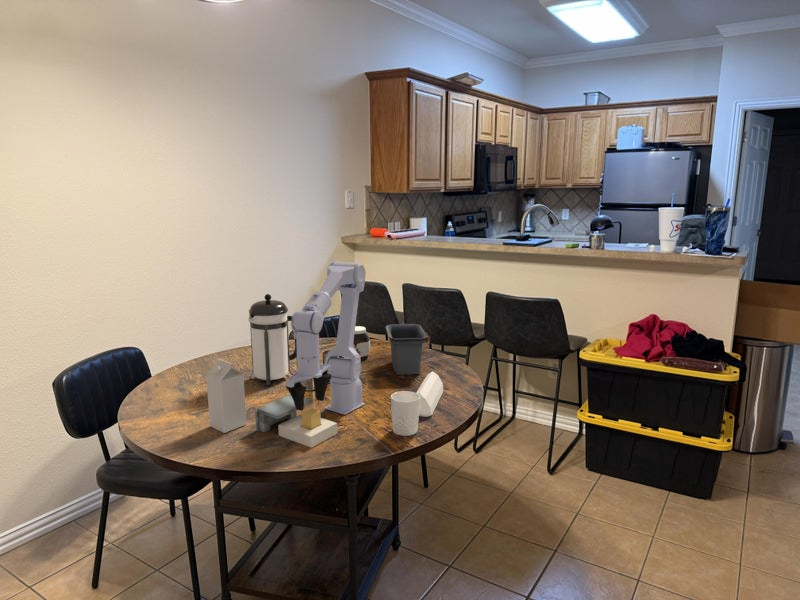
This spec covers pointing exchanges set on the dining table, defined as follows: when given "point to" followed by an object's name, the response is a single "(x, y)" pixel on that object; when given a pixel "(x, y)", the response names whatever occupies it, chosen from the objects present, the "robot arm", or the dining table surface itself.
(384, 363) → the dining table surface
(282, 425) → the socket
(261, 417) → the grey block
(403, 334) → the storage bin
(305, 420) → the peg
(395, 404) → the white cup
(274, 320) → the coffee press
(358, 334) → the spread jar
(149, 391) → the dining table surface
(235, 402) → the milk carton
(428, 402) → the white pentagonal prism
